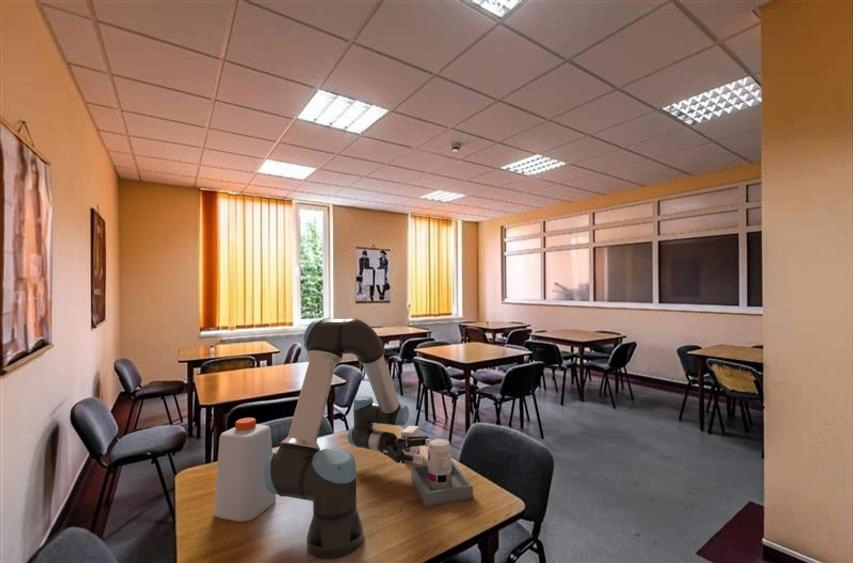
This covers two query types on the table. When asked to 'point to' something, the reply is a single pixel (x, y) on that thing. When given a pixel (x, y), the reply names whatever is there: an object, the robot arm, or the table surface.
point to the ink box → (411, 432)
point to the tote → (431, 498)
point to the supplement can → (439, 464)
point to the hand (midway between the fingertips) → (432, 452)
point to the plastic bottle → (243, 471)
